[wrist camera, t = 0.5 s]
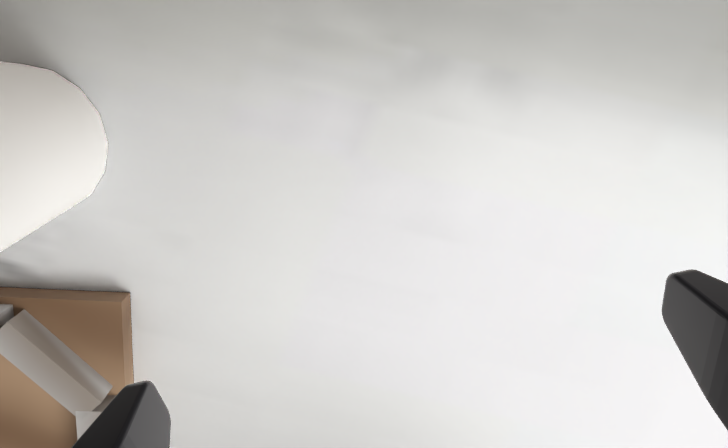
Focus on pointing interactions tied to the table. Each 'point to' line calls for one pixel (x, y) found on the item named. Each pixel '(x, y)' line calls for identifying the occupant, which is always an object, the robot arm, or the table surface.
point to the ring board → (60, 362)
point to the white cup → (44, 149)
